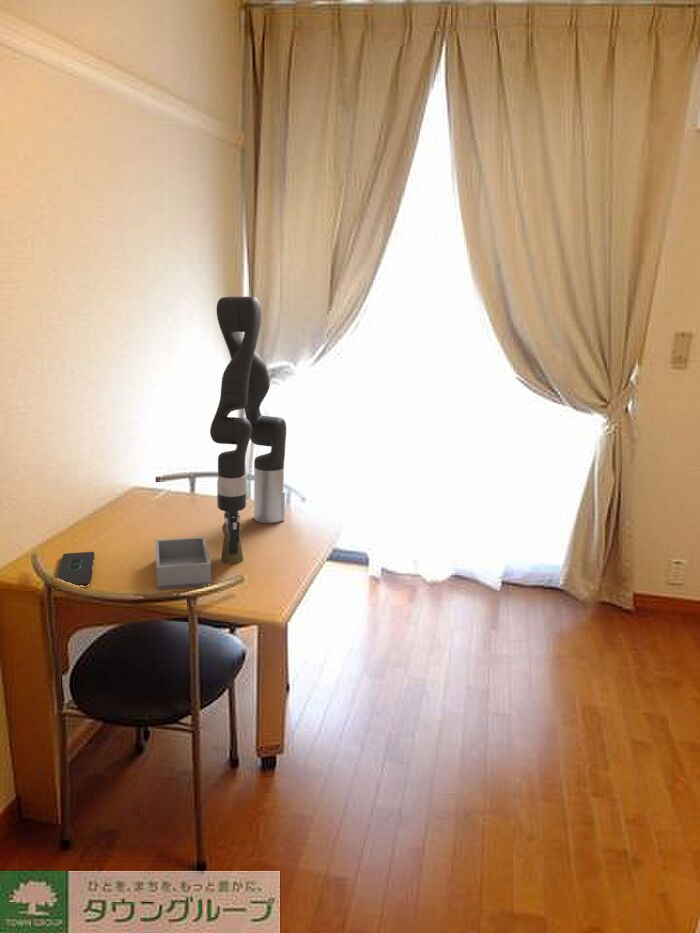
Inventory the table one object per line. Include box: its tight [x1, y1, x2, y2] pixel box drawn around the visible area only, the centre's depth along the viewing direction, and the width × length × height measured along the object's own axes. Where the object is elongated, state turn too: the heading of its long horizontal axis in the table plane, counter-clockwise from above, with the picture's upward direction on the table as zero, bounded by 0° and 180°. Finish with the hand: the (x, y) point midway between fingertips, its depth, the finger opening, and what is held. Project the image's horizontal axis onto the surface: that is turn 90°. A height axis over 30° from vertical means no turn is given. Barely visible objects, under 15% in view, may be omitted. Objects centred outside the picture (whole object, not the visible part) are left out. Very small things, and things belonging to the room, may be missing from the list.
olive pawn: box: [220, 523, 244, 565], centre depth 188 cm, size 6×6×11 cm
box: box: [155, 536, 212, 591], centre depth 179 cm, size 13×18×6 cm
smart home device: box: [56, 551, 95, 586], centre depth 178 cm, size 8×2×20 cm
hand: (232, 549), depth 188 cm, fingers open, 5 cm apart
